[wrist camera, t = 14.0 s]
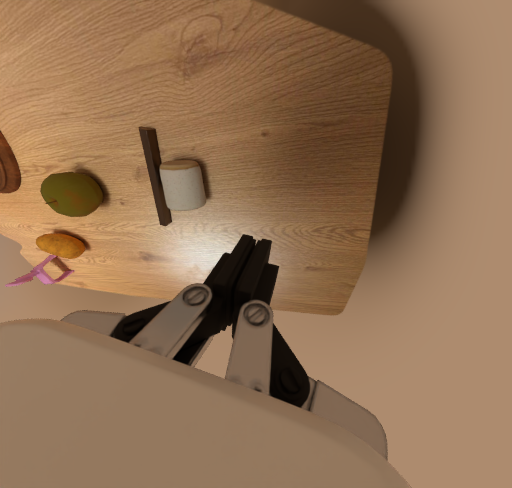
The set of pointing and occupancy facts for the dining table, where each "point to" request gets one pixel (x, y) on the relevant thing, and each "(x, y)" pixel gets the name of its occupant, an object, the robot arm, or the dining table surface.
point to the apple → (71, 194)
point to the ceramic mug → (182, 185)
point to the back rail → (155, 172)
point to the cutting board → (8, 168)
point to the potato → (61, 245)
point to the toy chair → (40, 274)
